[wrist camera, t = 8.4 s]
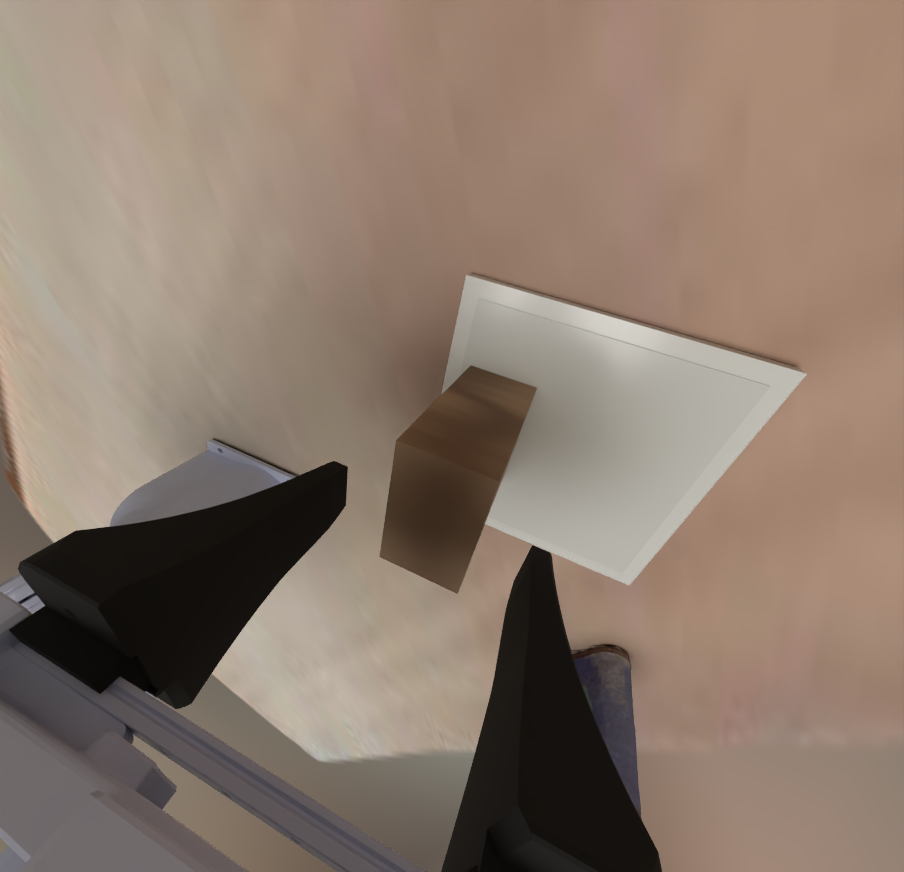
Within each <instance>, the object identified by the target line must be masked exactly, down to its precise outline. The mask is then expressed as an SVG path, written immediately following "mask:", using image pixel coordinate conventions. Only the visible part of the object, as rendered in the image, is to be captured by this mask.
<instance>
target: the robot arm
mask: <svg viewBox="0 0 904 872" xmlns="http://www.w3.org/2000/svg"><path fill="white" fill-rule="evenodd" d="M207 447H208V450H207V451H205V452H204V453H202V454H200V455H198V456H196V457H194V458H193V459H191V460H189V461H187V462H185V463H183V464H182V465H180V466H178V467H176V468H174V469H172V470H171V471H169V472H167V473H165V474H163V475H161V476H160V477H158V478H156V479H154V480H152V481H150V482H149V483H147V484H145V485H143V486H141V487H140V488H138V489H137V490H135V491H134V492H133V493H131V494H130V495H129V496H128V497H127V498H126V499H125V500H124V501H123V502H122V503H121V504H120V506H119V507H118V508H117V510H116V511H115V513H114V515H113V517H112V520H111V524H110V527H104V528H96V529H88V530H79V531H75V532H73V533H71V534H69V535H67V536H66V537H64V538H62V539H60V540H59V541H57V542H55V543H53V544H51V545H50V546H48V547H46V548H44V549H43V550H41V551H39V552H37V553H35V554H34V555H32V556H30V557H28V558H27V559H25V560H23V561H21V562H20V564H19V568H18V570H19V573H18V574H16V575H14V576H13V577H11V578H9V579H8V580H6V581H4V582H3V583H1V584H0V838H1V839H2V840H3V841H4V842H5V843H6V844H7V845H8V847H7V848H6V849H5V850H4V852H3V853H2V854H1V855H0V872H249V871H248V870H246V869H245V868H243V867H242V866H241V865H239V864H238V863H237V862H235V861H234V860H232V859H231V858H230V857H228V856H227V855H225V854H224V853H223V852H221V851H220V850H218V849H217V848H216V847H214V846H213V845H211V844H210V843H209V842H207V841H206V840H204V839H203V838H202V837H200V836H199V835H197V834H196V833H194V832H193V831H192V830H190V829H189V828H187V827H186V826H185V825H183V824H182V823H180V822H179V821H178V820H176V819H175V818H173V817H172V816H170V815H169V814H168V813H166V812H165V811H163V810H162V809H163V808H164V806H165V805H166V804H167V802H168V801H169V800H170V798H171V797H172V796H173V795H174V793H175V792H176V787H177V786H176V785H175V784H174V783H173V782H172V781H170V780H169V779H168V778H167V777H166V776H165V775H164V774H163V773H162V772H161V771H160V769H158V767H157V765H156V763H155V762H154V761H153V760H151V759H150V758H149V757H147V756H146V755H145V754H143V753H142V752H141V751H139V750H138V749H137V748H136V747H134V746H133V745H132V743H133V734H134V735H135V736H137V737H138V738H140V739H141V740H142V741H144V742H146V743H147V744H148V745H150V746H151V747H153V748H155V749H156V750H157V751H159V752H160V753H162V754H163V755H165V756H166V757H168V758H169V759H171V760H172V761H174V762H175V763H177V764H178V765H180V766H181V767H183V768H184V769H186V770H187V771H189V772H190V773H192V774H193V775H195V776H196V777H198V778H199V779H201V780H202V781H204V782H205V783H207V784H208V785H210V786H211V787H213V788H214V789H215V790H217V791H218V792H220V793H221V794H223V795H225V796H226V797H227V798H229V799H230V800H232V801H233V802H235V803H237V804H238V805H239V806H241V807H242V808H244V809H245V810H247V811H248V812H250V813H251V814H253V815H254V816H256V817H257V818H259V819H260V820H262V821H263V822H265V823H266V824H268V825H269V826H271V827H272V828H274V829H275V830H277V831H278V832H280V833H281V834H283V835H284V836H286V837H287V838H289V839H290V840H291V841H293V842H294V843H296V844H298V845H299V846H301V847H302V848H303V849H305V850H306V851H308V852H309V853H311V854H312V855H314V856H315V857H317V858H318V859H320V860H321V861H323V862H324V863H326V864H327V865H329V866H330V867H332V868H333V869H335V870H336V871H338V872H427V871H425V870H423V869H422V868H420V867H419V866H417V865H416V864H414V863H413V862H411V861H409V860H408V859H406V858H405V857H403V856H402V855H400V854H398V853H397V852H395V851H394V850H392V849H391V848H389V847H387V846H386V845H384V844H383V843H381V842H379V841H378V840H376V839H375V838H373V837H372V836H370V835H368V834H367V833H365V832H364V831H362V830H361V829H359V828H358V827H356V826H354V825H353V824H351V823H350V822H348V821H347V820H345V819H343V818H342V817H340V816H339V815H337V814H336V813H334V812H332V811H331V810H329V809H328V808H326V807H325V806H323V805H321V804H320V803H318V802H317V801H315V800H314V799H312V798H310V797H309V796H307V795H306V794H304V793H303V792H301V791H299V790H298V789H296V788H295V787H293V786H291V785H290V784H288V783H287V782H285V781H284V780H282V779H281V778H279V777H277V776H276V775H274V774H273V773H271V772H270V771H268V770H266V769H265V768H263V767H261V766H260V765H259V764H257V763H256V762H254V761H252V760H251V759H249V758H248V757H246V756H245V755H242V754H241V753H240V752H238V751H237V750H235V749H234V748H232V747H230V746H229V745H227V744H226V743H224V742H223V741H221V740H219V739H218V738H216V737H215V736H213V735H212V734H210V733H208V732H207V731H205V730H204V729H202V728H201V727H199V726H197V725H196V724H194V723H193V722H191V721H189V720H188V719H186V718H185V717H183V716H182V715H180V714H179V713H177V712H175V711H173V710H172V709H171V708H169V707H167V706H166V705H164V704H163V703H161V702H160V701H158V700H156V698H157V697H158V698H160V699H161V700H163V701H164V702H166V703H167V704H169V705H170V706H172V707H173V708H175V709H179V708H182V707H185V706H187V705H189V704H191V703H192V702H193V700H194V699H195V697H196V696H197V694H198V693H199V691H200V690H201V688H202V687H203V685H204V684H205V682H206V681H207V679H208V678H209V676H210V675H211V673H212V672H213V670H214V669H215V667H216V666H217V664H218V663H219V661H220V660H221V659H222V657H223V656H224V654H225V653H226V652H227V650H228V649H229V647H230V646H231V644H232V643H233V642H234V640H235V639H236V637H237V636H238V635H239V633H240V632H241V630H242V629H243V628H244V626H245V625H246V624H247V622H248V621H249V620H250V618H251V617H252V616H253V614H254V613H255V612H256V610H257V609H258V608H259V606H260V605H261V604H262V603H263V601H264V600H265V599H266V597H267V596H268V595H269V594H270V592H271V591H272V590H273V589H274V587H275V586H276V585H277V583H278V582H279V581H280V580H281V579H282V578H283V577H284V575H285V574H286V573H287V572H288V571H289V570H290V569H291V568H292V567H293V566H294V565H295V564H296V563H297V562H298V561H299V559H300V558H301V557H302V556H303V555H304V554H305V553H306V552H307V551H308V550H309V549H310V548H311V547H312V546H313V545H314V544H315V543H316V542H317V540H318V539H319V538H320V537H321V536H322V535H323V534H324V533H325V532H326V531H327V530H328V529H329V528H330V526H331V525H332V524H333V522H334V521H335V520H336V518H337V517H338V516H339V514H340V513H341V511H342V510H343V508H344V507H345V506H346V489H347V470H348V467H347V466H345V465H342V464H340V463H338V462H335V461H332V462H330V463H327V464H325V465H323V466H320V467H318V468H316V469H314V470H311V471H309V472H307V473H304V474H302V475H300V476H297V477H296V476H293V475H291V474H289V473H287V472H284V471H282V470H280V469H278V468H276V467H273V466H271V465H269V464H267V463H264V462H262V461H260V460H258V459H255V458H253V457H251V456H249V455H246V454H244V453H242V452H240V451H238V450H235V449H233V448H231V447H229V446H226V445H224V444H222V443H220V442H217V441H215V440H210V441H208V442H207ZM441 872H662V869H661V864H660V859H659V854H658V851H657V849H656V847H655V845H654V843H653V841H652V840H651V838H650V836H649V834H648V832H647V830H646V828H645V826H644V824H643V822H642V820H641V818H640V816H639V814H638V812H637V810H636V808H635V806H634V804H633V802H632V800H631V798H630V796H629V794H628V792H627V790H626V788H625V786H624V784H623V781H622V779H621V777H620V775H619V773H618V771H617V769H616V767H615V764H614V762H613V760H612V758H611V756H610V753H609V751H608V749H607V746H606V744H605V741H604V739H603V737H602V734H601V732H600V730H599V727H598V725H597V723H596V720H595V718H594V716H593V713H592V711H591V708H590V705H589V703H588V700H587V697H586V695H585V692H584V689H583V686H582V683H581V681H580V678H579V675H578V672H577V669H576V666H575V663H574V659H573V656H572V653H571V649H570V646H569V642H568V639H567V635H566V631H565V627H564V623H563V619H562V614H561V610H560V605H559V601H558V596H557V590H556V585H555V579H554V572H553V563H552V556H551V554H550V553H549V552H547V551H545V550H542V549H540V548H538V547H535V546H533V545H532V547H531V549H530V551H529V553H528V555H527V557H526V559H525V561H524V563H523V565H522V567H521V568H520V570H519V572H518V574H517V576H516V578H515V580H514V583H513V586H512V590H511V593H510V597H509V600H508V604H507V608H506V612H505V618H504V623H503V629H502V635H501V641H500V647H499V653H498V659H497V665H496V670H495V676H494V681H493V686H492V691H491V695H490V699H489V703H488V707H487V711H486V714H485V718H484V722H483V726H482V730H481V733H480V737H479V741H478V744H477V748H476V752H475V756H474V759H473V763H472V767H471V770H470V774H469V777H468V781H467V785H466V788H465V792H464V795H463V799H462V802H461V806H460V809H459V813H458V816H457V819H456V823H455V827H454V830H453V833H452V837H451V840H450V844H449V847H448V851H447V854H446V857H445V860H444V864H443V867H442V871H441Z"/></svg>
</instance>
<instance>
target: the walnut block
mask: <svg viewBox="0 0 904 872" xmlns="http://www.w3.org/2000/svg"><path fill="white" fill-rule="evenodd" d="M536 390H537V388H536V387H533V386H530V385H527V384H525V383H522V382H519V381H516V380H513V379H510V378H507V377H504V376H501V375H498V374H495V373H492V372H489V371H486V370H483V369H480V368H478V367H475V366H472V365H471V366H470V367H469V368H468V369H467V370H466V371H465V372H464V373H463V374H462V375H461V376H460V377H459V378H458V379H457V380H456V381H455V382H454V383H453V384H452V385H451V386H450V387H449V388H448V389H447V390H446V391H445V392H444V393H443V394H442V395H441V396H440V397H439V398H438V399H437V400H436V401H435V402H434V403H433V404H432V405H431V406H430V407H429V408H428V409H427V410H426V411H425V412H424V413H423V414H422V415H421V416H420V417H419V418H418V419H417V420H416V421H415V422H414V423H413V424H412V425H411V426H410V427H409V428H408V429H407V430H406V431H405V432H404V433H403V434H402V435H401V436H400V437H399V438H398V439H397V440H396V446H395V453H394V460H393V467H392V474H391V481H390V488H389V495H388V502H387V509H386V516H385V523H384V530H383V537H382V544H381V551H380V557H381V558H383V559H385V560H387V561H389V562H391V563H394V564H396V565H398V566H400V567H402V568H404V569H406V570H408V571H410V572H413V573H415V574H417V575H419V576H421V577H423V578H425V579H427V580H429V581H432V582H434V583H436V584H438V585H440V586H442V587H444V588H446V589H448V590H451V591H453V592H455V593H457V594H458V591H459V589H460V586H461V584H462V581H463V579H464V576H465V574H466V571H467V568H468V566H469V563H470V561H471V558H472V556H473V553H474V550H475V548H476V545H477V543H478V540H479V538H480V535H481V533H482V530H483V527H484V525H485V522H486V520H487V517H488V515H489V512H490V510H491V507H492V504H493V502H494V499H495V497H496V494H497V492H498V489H499V487H500V484H501V482H502V479H503V476H504V474H505V471H506V468H507V466H508V463H509V461H510V458H511V455H512V453H513V450H514V447H515V445H516V442H517V440H518V437H519V434H520V432H521V429H522V426H523V424H524V421H525V419H526V416H527V413H528V411H529V408H530V405H531V403H532V400H533V398H534V395H535V392H536Z"/></svg>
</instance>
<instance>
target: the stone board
mask: <svg viewBox="0 0 904 872" xmlns="http://www.w3.org/2000/svg"><path fill="white" fill-rule="evenodd" d="M471 365H472V366H475V367H478V368H480V369H483V370H486V371H489V372H492V373H495V374H498V375H501V376H504V377H507V378H510V379H513V380H516V381H519V382H522V383H525V384H527V385H530V386H533V387H536V388H537V390H536V392H535V395H534V398H533V400H532V403H531V405H530V408H529V411H528V413H527V416H526V419H525V421H524V424H523V426H522V429H521V432H520V434H519V437H518V440H517V442H516V445H515V447H514V450H513V453H512V455H511V458H510V461H509V463H508V466H507V468H506V471H505V474H504V476H503V479H502V482H501V484H500V487H499V489H498V492H497V494H496V497H495V499H494V502H493V504H492V507H491V510H490V512H489V515H488V517H487V520H486V522H485V524H486V525H488V526H491V527H493V528H495V529H498V530H500V531H502V532H505V533H507V534H509V535H512V536H514V537H516V538H519V539H521V540H523V541H526V542H528V543H530V544H533V545H535V546H538V547H540V548H542V549H545V550H547V551H549V552H552V553H554V554H556V555H559V556H561V557H563V558H566V559H568V560H570V561H573V562H575V563H577V564H580V565H582V566H584V567H587V568H589V569H591V570H594V571H596V572H598V573H601V574H603V575H605V576H608V577H610V578H612V579H615V580H617V581H619V582H622V583H624V584H627V585H630V584H631V583H632V582H633V581H634V579H635V578H636V577H637V576H638V575H639V573H640V572H641V571H642V570H643V569H644V567H645V566H646V565H647V564H648V563H649V561H650V560H651V559H652V558H653V557H654V556H655V554H656V553H657V552H658V551H659V550H660V548H661V547H662V546H663V545H664V544H665V542H666V541H667V540H668V539H669V538H670V537H671V535H672V534H673V533H674V532H675V531H676V529H677V528H678V527H679V526H680V525H681V523H682V522H683V521H684V520H685V519H686V517H687V516H688V515H689V514H690V513H691V512H692V510H693V509H694V508H695V507H696V506H697V504H698V503H699V502H700V501H701V500H702V498H703V497H704V496H705V495H706V494H707V493H708V491H709V490H710V489H711V488H712V487H713V485H714V484H715V483H716V482H717V481H718V479H719V478H720V477H721V476H722V475H723V473H724V472H725V471H726V470H727V469H728V468H729V466H730V465H731V464H732V463H733V462H734V460H735V459H736V458H737V457H738V456H739V454H740V453H741V452H742V451H743V450H744V448H745V447H746V446H747V445H748V444H749V443H750V441H751V440H752V439H753V438H754V437H755V435H756V434H757V433H758V432H759V431H760V429H761V428H762V427H763V426H764V425H765V424H766V422H767V421H768V420H769V419H770V418H771V416H772V415H773V414H774V413H775V412H776V410H777V409H778V408H779V407H780V406H781V404H782V403H783V402H784V401H785V400H786V399H787V397H788V396H789V395H790V394H791V393H792V391H793V390H794V389H795V388H796V387H797V385H798V384H799V383H800V382H801V381H802V379H803V378H804V377H805V376H806V375H807V373H805V372H804V371H802V370H801V369H799V368H797V367H794V366H791V365H787V364H784V363H780V362H777V361H773V360H770V359H766V358H763V357H759V356H756V355H753V354H749V353H746V352H742V351H739V350H735V349H732V348H728V347H725V346H721V345H718V344H714V343H711V342H707V341H704V340H701V339H697V338H694V337H690V336H687V335H683V334H680V333H676V332H673V331H669V330H666V329H662V328H659V327H655V326H652V325H649V324H645V323H642V322H638V321H635V320H631V319H628V318H624V317H621V316H617V315H614V314H610V313H607V312H603V311H600V310H597V309H593V308H590V307H586V306H583V305H579V304H576V303H572V302H569V301H565V300H562V299H558V298H555V297H552V296H548V295H545V294H541V293H538V292H534V291H531V290H527V289H524V288H520V287H517V286H513V285H510V284H506V283H503V282H500V281H496V280H493V279H489V278H486V277H482V276H479V275H475V274H472V273H471V274H468V275H466V279H465V284H464V288H463V293H462V298H461V302H460V307H459V312H458V317H457V321H456V326H455V331H454V335H453V340H452V345H451V350H450V354H449V359H448V364H447V369H446V373H445V378H444V383H443V387H442V392H441V395H442V394H443V393H444V392H445V391H446V390H447V389H448V388H449V387H450V386H451V385H452V384H453V383H454V382H455V381H456V380H457V379H458V378H459V377H460V376H461V375H462V374H463V373H464V372H465V371H466V370H467V369H468V368H469V367H470V366H471Z"/></svg>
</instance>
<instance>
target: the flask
mask: <svg viewBox="0 0 904 872" xmlns="http://www.w3.org/2000/svg"><path fill="white" fill-rule="evenodd" d="M591 648H592V649H591V650H590V649H586V650H578V651H577V650H574V651H571V653H572V656H573V659H574V663H575V666H576V669H577V672H578V675H579V678H580V681H581V683H582V686H583V689H584V692H585V695H586V697H587V700H588V703H589V705H590V708H591V711H592V713H593V716H594V718H595V720H596V723H597V725H598V727H599V730H600V732H601V734H602V737H603V739H604V741H605V744H606V746H607V749H608V751H609V753H610V756H611V758H612V760H613V762H614V764H615V767H616V769H617V771H618V773H619V775H620V777H621V779H622V781H623V784H624V786H625V788H626V790H627V792H628V794H629V796H630V798H631V800H632V802H633V804H634V806H635V808H636V810H637V812H638V814H639V816H640V818H641V806H640V796H639V787H638V772H637V754H636V737H635V726H634V716H633V701H632V685H631V664H630V661H629V658H628V655H627V654H626V653H625V652H623V651H622V650H621V649H620V648H619V647H618V646H613V647H607V646H604V645H601V646H598V645H597V646H591Z"/></svg>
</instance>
